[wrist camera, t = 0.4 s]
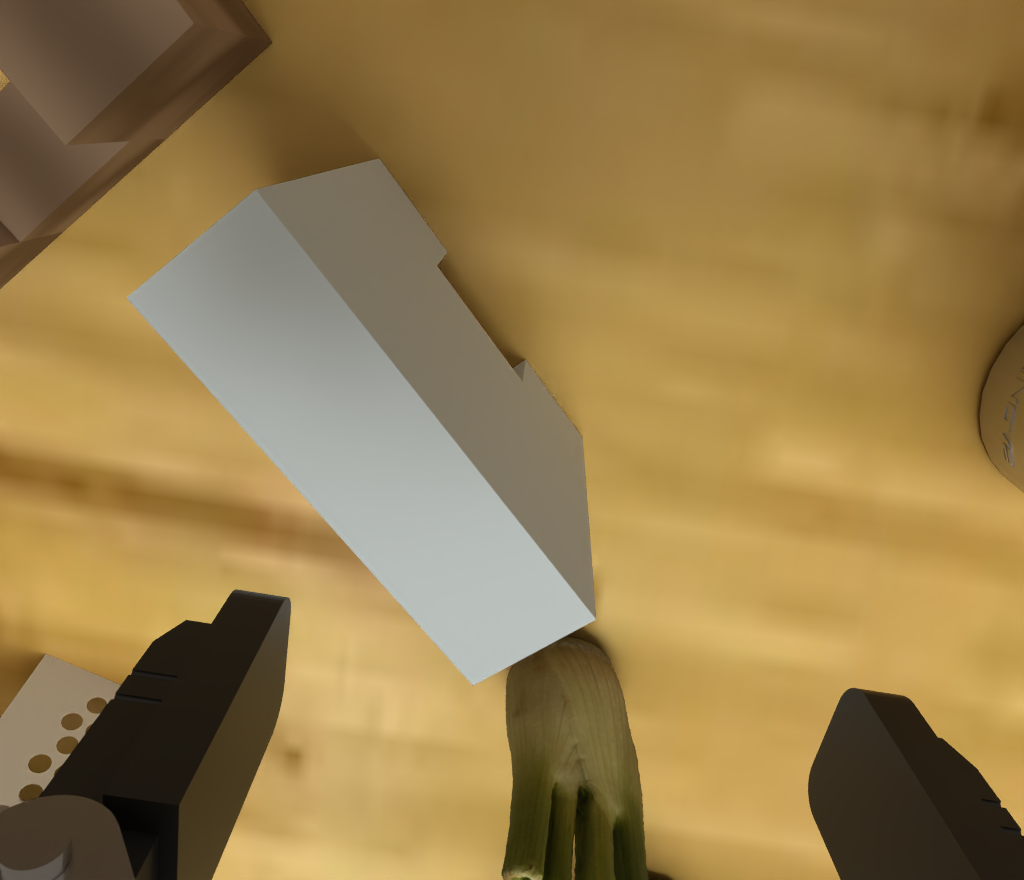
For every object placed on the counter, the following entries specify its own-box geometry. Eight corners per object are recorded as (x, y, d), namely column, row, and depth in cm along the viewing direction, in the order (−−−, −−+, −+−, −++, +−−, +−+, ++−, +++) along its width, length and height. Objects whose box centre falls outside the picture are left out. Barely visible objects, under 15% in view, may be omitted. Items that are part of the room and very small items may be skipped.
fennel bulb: (644, 694, 36) (682, 953, 25) (553, 732, 37) (551, 995, 26) (583, 604, 34) (595, 841, 23) (490, 647, 35) (459, 891, 24)
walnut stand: (199, -56, 25) (96, -105, 19) (272, 42, 26) (194, 23, 20) (-96, 235, 29) (-249, 263, 23) (-23, 309, 30) (-154, 353, 24)
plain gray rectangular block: (379, 158, 27) (255, 189, 16) (582, 438, 31) (596, 619, 20) (296, 225, 28) (126, 298, 17) (502, 487, 32) (472, 685, 21)
